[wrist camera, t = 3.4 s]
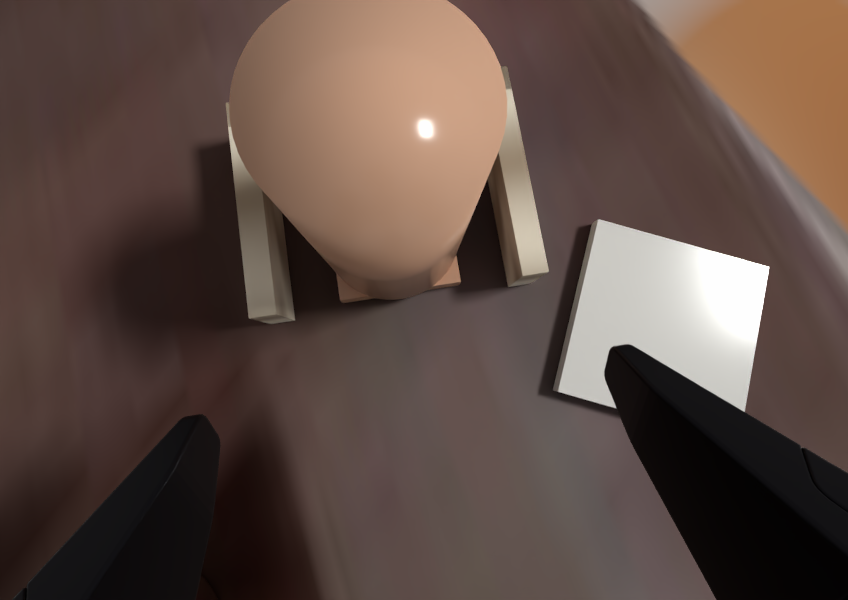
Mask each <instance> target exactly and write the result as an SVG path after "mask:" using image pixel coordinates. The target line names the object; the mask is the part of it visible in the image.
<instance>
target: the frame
mask: <svg viewBox="0 0 848 600" xmlns="http://www.w3.org/2000/svg"><path fill="white" fill-rule="evenodd" d="M501 70H502V74H503V77H504V81H505V87H506V94H507V119H506V126H505V133H504V136H503V139H502V143H501V146H500V149H499V152H498V154H497V157H496V159H495V161H494V164H493V166H492V169H491V171H490V174H489V176H488V178H487V179H488V184H489V189H490V195H491V200H492V205H493V210H494V216H495V221H496V226H497V231H498V237H499V242H500V247H501V253H502V258H503V263H504V268H505V274H506V279H507V284H508V287H512V286H518V285H525V284H531V283H532V282H534V281H535V280H537V279H539V278H540V277H542V276H543V275H545V274H546V273H548V272H549V270H548V265H547V260H546V255H545V251H544V246H543V241H542V236H541V231H540V226H539V221H538V216H537V211H536V206H535V201H534V197H533V192H532V187H531V182H530V177H529V172H528V167H527V162H526V157H525V152H524V147H523V143H522V138H521V133H520V128H519V123H518V118H517V113H516V108H515V103H514V98H513V93H512V89H511V84H510V79H509V74H508V69H507V66H503V67H501ZM226 110H227V120H228V129H229V139H230V148H231V157H232V167H233V176H234V185H235V195H236V204H237V213H238V223H239V232H240V242H241V251H242V260H243V270H244V279H245V288H246V298H247V307H248V316H249V319H253V320H257V321H261V322H265V323H269V324H275V323H282V322H288V321H295V314H294V306H293V298H292V290H291V281H290V273H289V265H288V257H287V248H286V240H285V232H284V224H283V215H282V212H281V211H280V210H279V208H278V207H277V206H276V205H275V204H274V203H273V202H272V201H271V199H270V198H269V197H268V196H267V195H266V194H265V193H264V192H263V191H262V189H261V188H260V187H259V186H258V185H257V184H256V182H255V181H254V180H253V178H252V177H251V175H250V174H249V172H248V171H247V169H246V168H245V166H244V164H243V162H242V160H241V158H240V156H239V154H238V151H237V148H236V145H235V142H234V139H233V135H232V130H231V124H230V115H229V103H226Z"/></svg>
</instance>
